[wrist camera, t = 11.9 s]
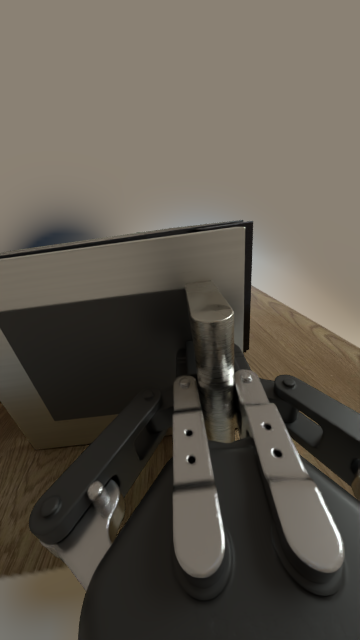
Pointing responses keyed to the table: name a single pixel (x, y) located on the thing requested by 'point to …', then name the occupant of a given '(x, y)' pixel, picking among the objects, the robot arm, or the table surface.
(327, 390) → the table surface
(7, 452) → the table surface
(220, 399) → the microwave door
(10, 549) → the table surface
